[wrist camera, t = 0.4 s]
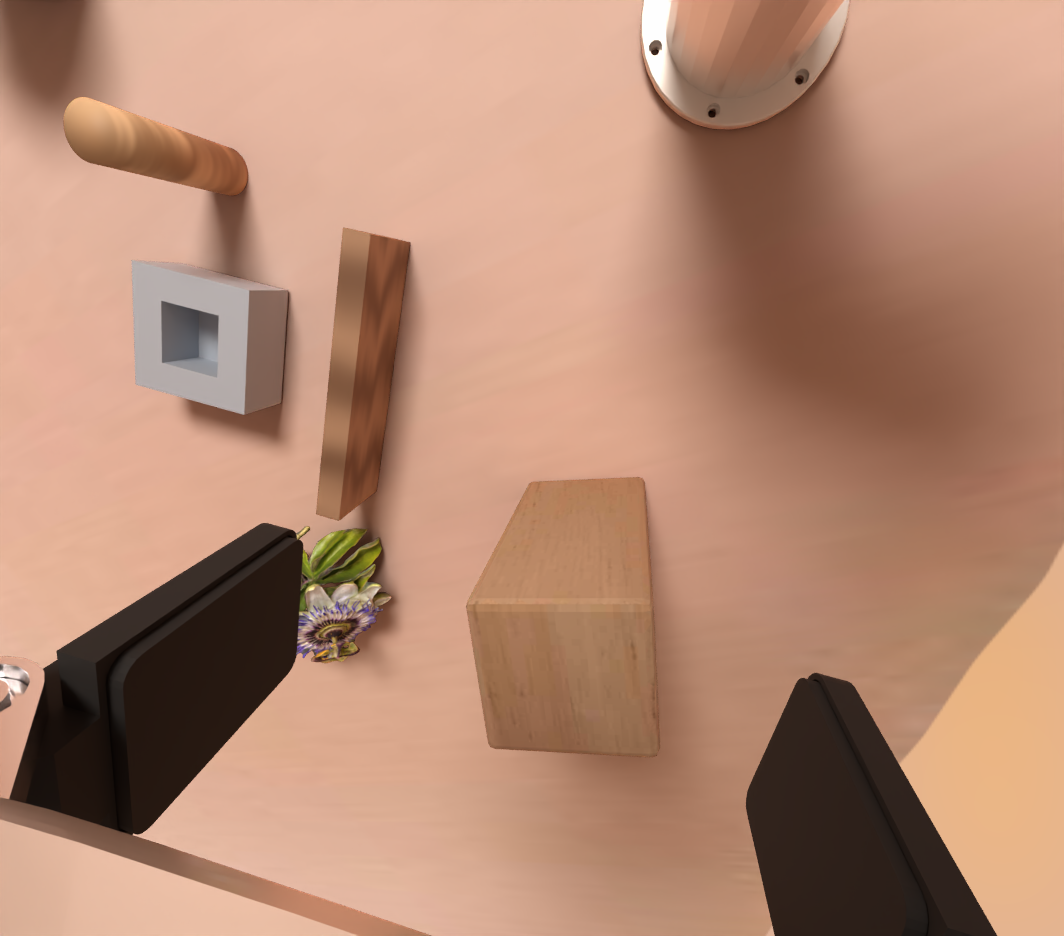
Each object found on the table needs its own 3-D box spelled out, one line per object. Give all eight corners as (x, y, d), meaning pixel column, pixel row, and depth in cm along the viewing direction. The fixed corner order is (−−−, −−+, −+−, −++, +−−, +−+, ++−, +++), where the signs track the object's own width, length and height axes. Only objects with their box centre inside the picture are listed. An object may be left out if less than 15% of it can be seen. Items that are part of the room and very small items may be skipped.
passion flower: (394, 576, 60) (337, 683, 53) (303, 528, 57) (232, 634, 51) (423, 549, 51) (359, 674, 44) (316, 491, 48) (231, 614, 42)
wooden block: (540, 581, 51) (486, 752, 32) (528, 480, 48) (462, 603, 29) (649, 580, 49) (660, 762, 30) (644, 475, 46) (653, 603, 27)
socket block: (181, 263, 47) (131, 260, 42) (288, 290, 46) (249, 290, 41) (182, 375, 50) (135, 384, 45) (281, 403, 49) (244, 414, 44)
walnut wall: (386, 236, 43) (343, 227, 37) (410, 242, 43) (370, 233, 36) (356, 485, 51) (316, 514, 44) (376, 490, 50) (338, 520, 44)
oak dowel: (208, 143, 43) (61, 91, 32) (248, 152, 43) (113, 103, 32) (208, 190, 45) (65, 156, 33) (247, 199, 44) (116, 169, 33)
